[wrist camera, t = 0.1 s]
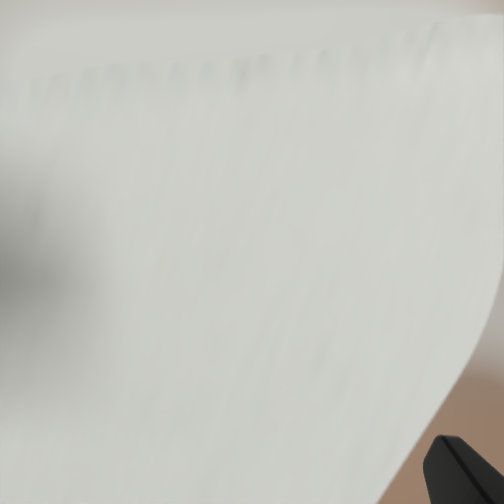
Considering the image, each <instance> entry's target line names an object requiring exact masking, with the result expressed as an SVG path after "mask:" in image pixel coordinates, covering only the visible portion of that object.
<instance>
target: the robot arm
mask: <svg viewBox="0 0 504 504" xmlns="http://www.w3.org/2000/svg"><path fill="white" fill-rule="evenodd" d="M423 473H424V477H425V481H426V485H427V489H428V494H429V498H430V502H431V504H504V476H503V475H502V474H501V473H500V472H498V471H497V470H496V469H495V468H494V467H493V466H491V464H489V463H488V462H487V461H486V460H485V459H484V458H483V457H481V455H479V454H478V453H477V452H476V451H475V450H474V449H473V448H472V447H470V446H469V445H468V444H467V443H466V442H465V441H464V440H463V439H461V438H460V437H458V436H455V435H444V434H441V435H438V436H436V437H435V439H434V441H433V443H432V444H431V446H430V448H429V451H428V452H427V454H426V456H425V458H424V462H423Z"/></svg>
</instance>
